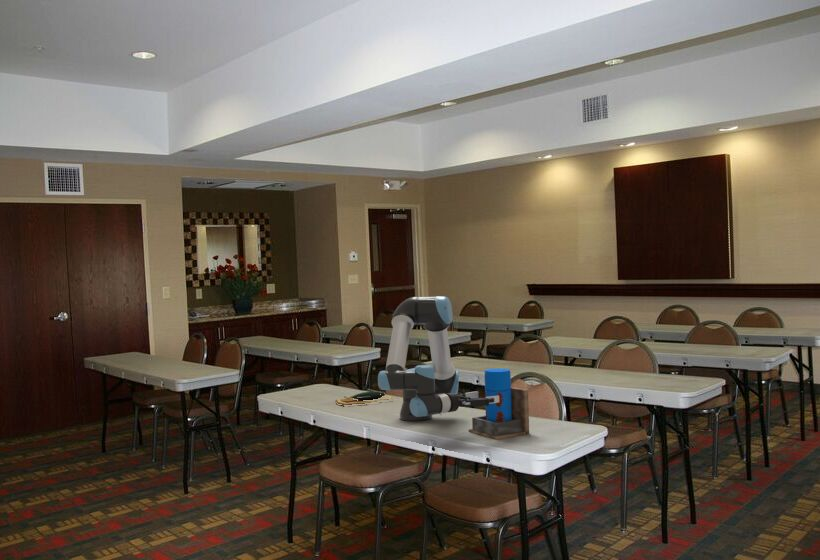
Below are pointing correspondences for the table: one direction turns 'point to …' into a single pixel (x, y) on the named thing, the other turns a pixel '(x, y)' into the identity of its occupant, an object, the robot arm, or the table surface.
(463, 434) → the table surface
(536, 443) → the table surface
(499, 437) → the mount board
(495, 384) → the thermos
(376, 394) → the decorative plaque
